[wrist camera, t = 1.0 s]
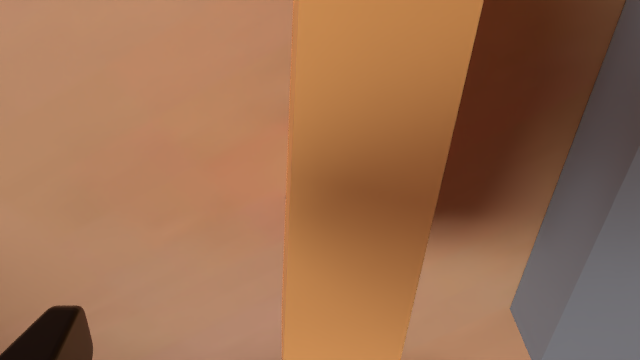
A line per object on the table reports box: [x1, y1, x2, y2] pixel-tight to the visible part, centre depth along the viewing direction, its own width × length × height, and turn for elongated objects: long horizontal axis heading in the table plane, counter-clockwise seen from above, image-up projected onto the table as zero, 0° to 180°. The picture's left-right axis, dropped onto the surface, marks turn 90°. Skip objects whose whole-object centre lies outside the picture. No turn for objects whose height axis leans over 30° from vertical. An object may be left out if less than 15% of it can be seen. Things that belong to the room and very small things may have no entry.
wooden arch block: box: [282, 0, 484, 360], centre depth 14 cm, size 13×3×6 cm, turn 176°
